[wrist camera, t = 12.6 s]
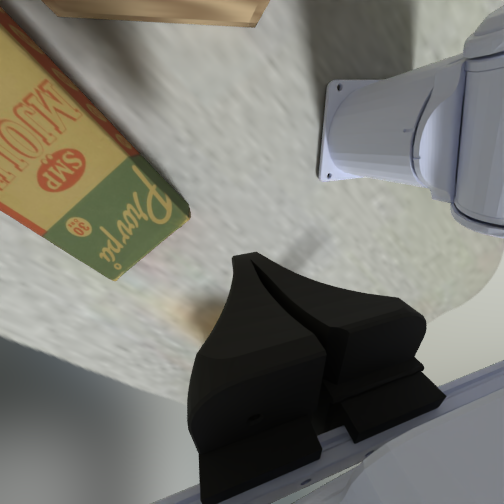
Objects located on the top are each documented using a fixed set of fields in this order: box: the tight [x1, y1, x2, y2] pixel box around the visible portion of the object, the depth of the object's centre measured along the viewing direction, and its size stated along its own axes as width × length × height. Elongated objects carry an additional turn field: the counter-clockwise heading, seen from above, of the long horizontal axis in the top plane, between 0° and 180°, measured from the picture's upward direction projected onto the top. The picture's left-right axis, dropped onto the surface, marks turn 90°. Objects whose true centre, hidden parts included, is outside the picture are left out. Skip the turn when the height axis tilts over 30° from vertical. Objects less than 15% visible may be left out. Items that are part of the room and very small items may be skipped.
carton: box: [0, 6, 191, 281], centre depth 14 cm, size 8×16×4 cm, turn 36°
